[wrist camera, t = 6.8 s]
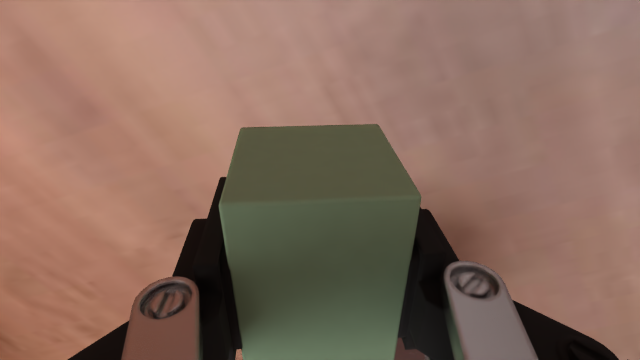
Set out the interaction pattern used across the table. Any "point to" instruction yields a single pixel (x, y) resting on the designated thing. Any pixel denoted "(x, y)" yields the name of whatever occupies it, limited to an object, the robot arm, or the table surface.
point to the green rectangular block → (318, 241)
